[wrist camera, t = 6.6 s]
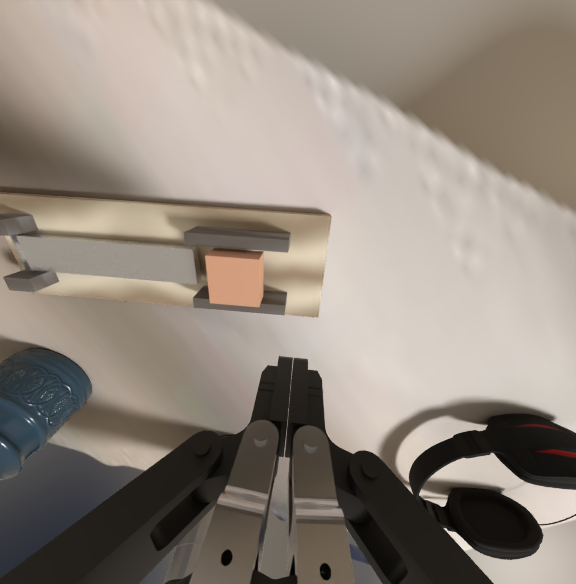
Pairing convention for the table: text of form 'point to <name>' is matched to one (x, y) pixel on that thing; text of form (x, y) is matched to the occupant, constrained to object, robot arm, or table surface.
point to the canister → (36, 403)
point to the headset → (490, 505)
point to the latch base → (176, 231)
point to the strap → (109, 258)
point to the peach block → (235, 276)
